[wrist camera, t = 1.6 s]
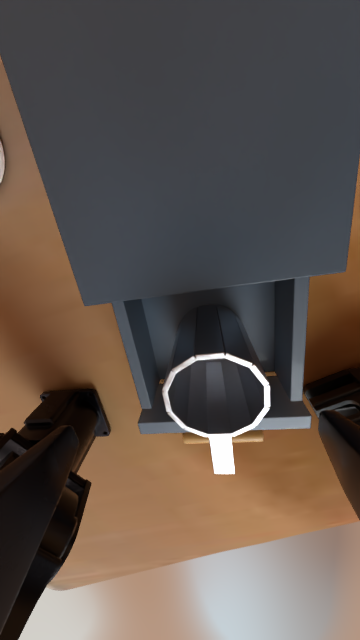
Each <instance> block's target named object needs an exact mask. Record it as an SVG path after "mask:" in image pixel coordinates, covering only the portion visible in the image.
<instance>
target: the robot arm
mask: <svg viewBox="0 0 360 640" xmlns="http://www.w3.org/2000/svg"><path fill="white" fill-rule="evenodd" d="M91 393H92V394H91ZM40 398H41V400H42V403H41V404H40V405H39V406H38V407H37V408H36V409H35V410H34V411H33V412H32V413H31V414H30V415H29V416H28V418H27V419H26V420H25V421H24V424H25V426H24V427H23V428H22V429H21V430H20V431H19V432H18V433H17V431H16V430H15V429H13V428H11V429H10V430H9V431H8V432H7V433H6V434H4V433H0V640H18V639H19V637H20V634H21V633H22V631H23V629H24V627H25V624H26V622H27V620H28V618H29V616H30V615H31V613H32V611H33V609H34V607H35V605H36V603H37V601H38V599H39V598H40V596H41V594H42V593H43V591H44V589H45V587H46V586H47V584H48V583H49V582H50V581H51V580H52V579H53V578H54V577H55V575H56V574H57V573H58V571H59V570H60V568H61V567H62V565H63V563H64V562H65V560H66V558H67V556H68V555H69V552H70V550H71V548H72V546H73V544H74V542H75V539H76V536H77V533H78V530H79V526H80V523H81V519H82V516H83V512H84V508H85V505H86V501H87V498H88V494H89V490H90V487H91V482H90V481H88V480H85V479H83V478H82V477H80V476H79V475H77V472H78V470H79V468H80V466H81V464H82V462H83V460H84V459H85V457H86V455H87V453H88V451H89V449H90V447H91V445H92V443H93V441H94V439H95V438H96V436H108V435H109V434H110V432H111V430H110V427H109V424H108V421H107V419H106V416H105V413H104V411H103V408H102V405H101V402H100V400H99V397H98V394H97V392H96V390H94V389H78V390H62V391H49V392H43V393H42V394H41V395H40ZM318 430H319V435H320V437H321V440H322V442H323V444H324V447H325V449H326V451H327V454H328V456H329V458H330V461H331V463H332V465H333V467H334V470H335V472H336V474H337V477H338V479H339V481H340V483H341V486H342V488H343V490H344V492H345V494H346V496H347V498H348V500H349V501H350V503H351V505H352V507H353V509H354V511H355V512H356V514H357V516H358V518H359V520H360V426H359V425H357V424H355V423H354V422H352V421H351V420H349V419H348V418H346V417H345V416H343V415H342V414H340V413H339V412H337V411H335V410H322V411H321V412H320V414H319V428H318Z"/></svg>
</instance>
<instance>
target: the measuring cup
mask: <svg viewBox="0 0 360 640" xmlns="http://www.w3.org/2000/svg"><path fill="white" fill-rule="evenodd" d="M162 395H163V399H164V404H165V408H166V412H167V414H168V415H169V416H170V417H171V418H172V419H173V420H174V421H175V422H176V423H177V424H178V425H179V426H180V427H181V428H182V429H183V428H184V430H187V431H189V432H192V433H195V434H198V435H200V436H203V437H207V436H208V438H209V441H210V448H211V455H212V461H213V468H214V474H235V469H234V459H233V448H232V438H231V437H232V435H233V436H234V437H235V436H237V435H239V434H241V433H244V432H246V431H248V430H250V429H252V428H254V427H255V426H257V425H258V424H259V422H260V421H261V420H262V418H263V417H264V416H265V414H266V413H267V412H268V410H269V409H270V384H269V381H268V379H267V377H266V374H265V372H264V370H263V368H262V365H261V363H260V361H259V359H258V357H257V354H256V352H255V350H254V348H253V346H252V343H251V341H250V339H249V337H248V334H247V332H246V330H245V328H244V326H243V324H242V323H241V321H240V320H239V318H238V317H237V316H236V314H235V313H234V312H232V311H231V310H229V309H228V308H226V307H223V306H220V305H214V304H207V305H202V306H199V307H196V308H194V309H192V310H191V311H190V312H188V313H187V314H186V315H185V316H184V317H183V319H182V321H181V323H180V325H179V328H178V331H177V334H176V338H175V341H174V345H173V349H172V353H171V357H170V361H169V365H168V369H167V372H166V376H165V380H164V384H163V388H162Z"/></svg>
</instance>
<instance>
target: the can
mask: <svg viewBox="0 0 360 640" xmlns="http://www.w3.org/2000/svg"><path fill="white" fill-rule="evenodd" d="M4 172H5V155H4V150H3V146H2V143H1V140H0V184H1V182H2V179H3V177H4Z"/></svg>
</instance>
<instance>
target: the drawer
mask: <svg viewBox="0 0 360 640" xmlns="http://www.w3.org/2000/svg"><path fill="white" fill-rule="evenodd" d="M308 294H309V277H303V278H296V279H288V280H280V281H273V282H265V283H258V284H250V285H242V286H235V287H227V288H219V289H212V290H204V291H197V292H189V293H181V294H174V295H166V296H159V297H151V298H143V299H136V300H128V301H120V302H113V303H112V306H113V309H114V313H115V316H116V320H117V323H118V327H119V330H120V334H121V337H122V341H123V344H124V348H125V351H126V355H127V358H128V362H129V365H130V369H131V372H132V376H133V379H134V383H135V386H136V390H137V393H138V397H139V400H140V404H141V408H142V412H141V415H140V418H139V421H138V426H139V429H140V433H141V434H155V433H183V442H184V444H194V443H210V441H209V438H208V436H207V437H203V436H200V435H198V434H195V433H192V432H189V431H187V430H184V428H183V429H182V428H181V427H180V426H179V425H178V424H177V423H176V422H175V421H174V420H173V419H172V418H171V417H170V416H169V415H168V414H167V412H166V408H165V404H164V399H163V395H162V388H163V384H159V381H160V379H165V376H166V372H167V369H168V365H169V361H170V357H171V353H172V349H173V345H174V341H175V338H176V334H177V331H178V328H179V325H180V323H181V321H182V319H183V317H184V316H185V315H186V314H187V313H188V312H190V311H191V310H192V309H194V308H196V307H199V306H202V305H207V304H214V305H220V306H223V307H226V308H228V309H229V310H231V311H232V312H234V313H235V314H236V316H237V317H238V318H239V320H240V321H241V323H242V324H243V326H244V328H245V330H246V332H247V334H248V337H249V339H250V341H251V343H252V346H253V348H254V350H255V352H256V354H257V357H258V359H259V361H260V363H261V365H262V368H263V370H264V372H269V371H275V373H276V375H277V376H266V377H267V379H268V381H269V384H270V409H269V410H268V412H267V413H266V414H265V416H264V417H263V418H262V420H261V421H260V422H259V424H258V425H257V426H255V427H254V428H252V429H250V430H248V431H246V432H244V433H241V434H239V435H237V436H235V437H234V436H233V435H232V437H231V438H232V443H233V442H263V440H264V437H263V431H262V430H274V429H303V428H311V414H310V413H309V411H308V409H307V408H306V406H305V404H304V403H303V401H302V395H303V378H304V361H305V344H306V327H307V311H308Z"/></svg>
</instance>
